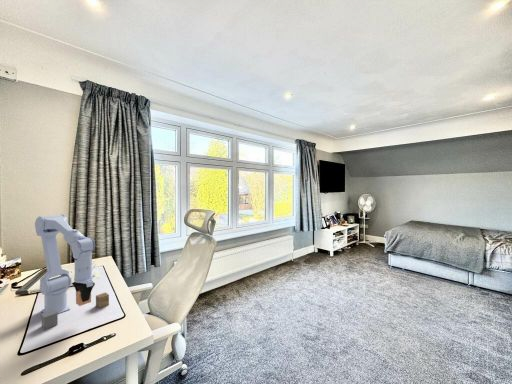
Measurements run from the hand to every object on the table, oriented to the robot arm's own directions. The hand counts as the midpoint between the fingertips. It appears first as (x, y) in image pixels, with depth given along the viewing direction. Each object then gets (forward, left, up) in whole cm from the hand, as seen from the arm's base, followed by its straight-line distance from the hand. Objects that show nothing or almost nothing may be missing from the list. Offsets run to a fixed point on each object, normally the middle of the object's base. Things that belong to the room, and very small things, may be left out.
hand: (83, 299), depth 93 cm
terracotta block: (0, 0, -2) cm, 2 cm away
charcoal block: (-8, -9, -10) cm, 15 cm away
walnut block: (-8, +10, -10) cm, 16 cm away
